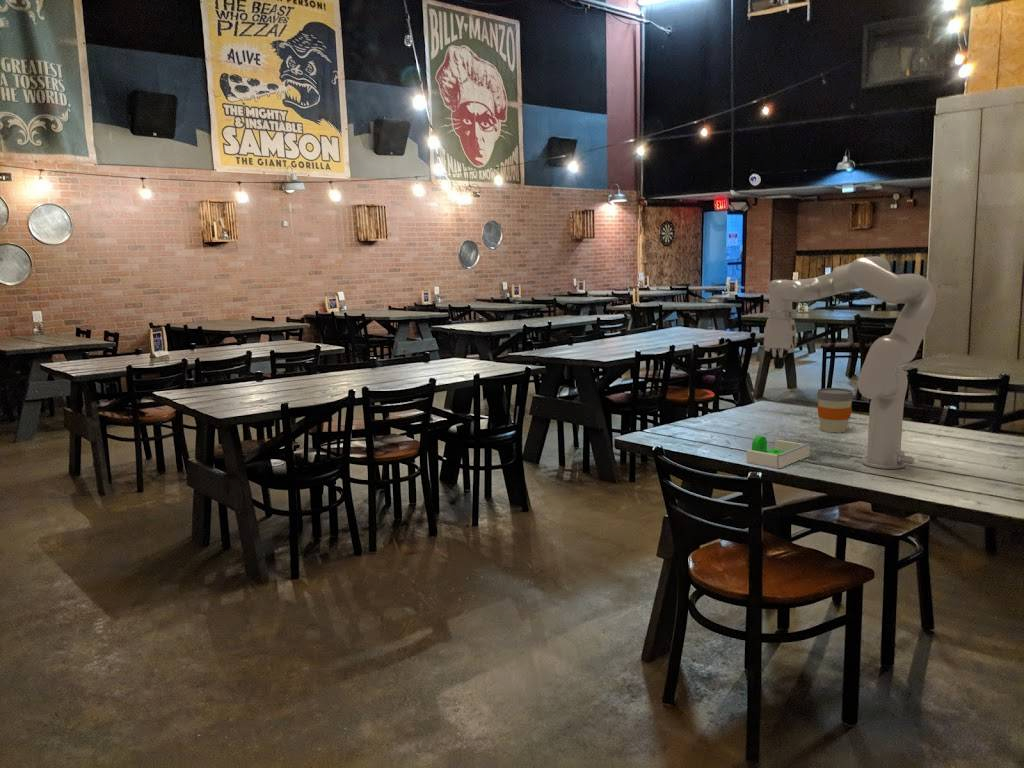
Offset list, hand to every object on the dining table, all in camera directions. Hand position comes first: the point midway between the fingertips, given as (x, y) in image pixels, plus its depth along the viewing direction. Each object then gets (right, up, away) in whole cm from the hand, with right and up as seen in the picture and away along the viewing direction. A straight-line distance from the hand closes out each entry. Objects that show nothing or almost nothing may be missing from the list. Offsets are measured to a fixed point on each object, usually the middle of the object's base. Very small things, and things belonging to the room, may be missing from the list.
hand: (778, 368), depth 274 cm
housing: (-6, -30, -16) cm, 35 cm away
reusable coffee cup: (+28, -23, +22) cm, 42 cm away
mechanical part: (-8, -30, -15) cm, 35 cm away
